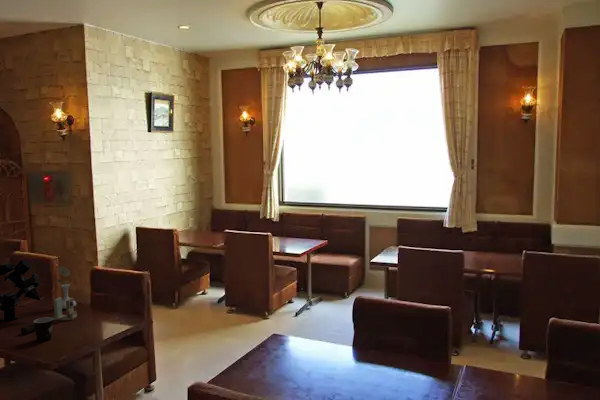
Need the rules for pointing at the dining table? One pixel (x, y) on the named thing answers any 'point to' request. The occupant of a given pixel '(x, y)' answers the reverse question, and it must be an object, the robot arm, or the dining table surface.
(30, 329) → the hand tool
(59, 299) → the sliding jaw
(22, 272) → the robot arm
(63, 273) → the flower in vase
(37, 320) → the coffee mug
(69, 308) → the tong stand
